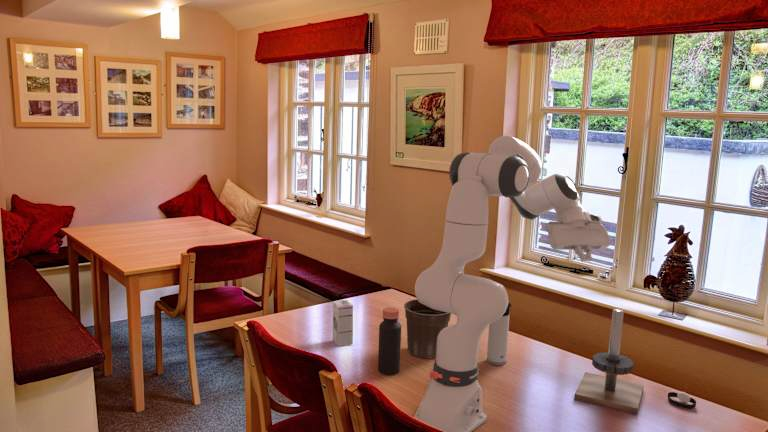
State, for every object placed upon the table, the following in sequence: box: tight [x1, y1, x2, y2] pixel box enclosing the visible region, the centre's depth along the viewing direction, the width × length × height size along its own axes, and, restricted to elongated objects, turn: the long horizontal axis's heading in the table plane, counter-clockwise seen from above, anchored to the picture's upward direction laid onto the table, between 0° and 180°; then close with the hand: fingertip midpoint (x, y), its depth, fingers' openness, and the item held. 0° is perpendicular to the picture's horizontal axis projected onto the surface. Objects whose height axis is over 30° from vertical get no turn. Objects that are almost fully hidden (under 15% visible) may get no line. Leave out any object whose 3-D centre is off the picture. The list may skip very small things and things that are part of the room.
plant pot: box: [403, 298, 452, 359], centre depth 212 cm, size 16×16×16 cm
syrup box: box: [332, 299, 354, 347], centre depth 218 cm, size 6×6×14 cm
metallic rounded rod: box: [605, 308, 625, 391], centre depth 184 cm, size 3×3×24 cm
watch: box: [667, 391, 697, 410], centre depth 182 cm, size 8×5×4 cm, turn 45°
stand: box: [573, 371, 645, 416], centre depth 186 cm, size 17×17×2 cm
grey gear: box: [591, 352, 635, 376], centre depth 185 cm, size 11×11×2 cm
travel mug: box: [486, 302, 512, 366], centre depth 206 cm, size 6×7×20 cm
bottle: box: [377, 306, 402, 376], centre depth 196 cm, size 7×7×20 cm
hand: (586, 260), depth 194 cm, fingers closed
